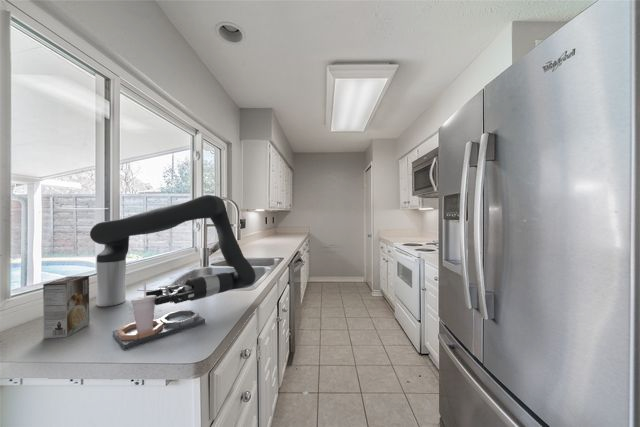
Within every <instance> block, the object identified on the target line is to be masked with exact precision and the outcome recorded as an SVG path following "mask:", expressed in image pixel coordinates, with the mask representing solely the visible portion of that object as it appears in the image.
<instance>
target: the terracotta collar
mask: <svg viewBox="0 0 640 427" xmlns="http://www.w3.org/2000/svg"><path fill="white" fill-rule="evenodd" d="M158 319H159V318H157V319H153V325H156V327H155V328H154V329H151V330H148V331H145V332H141V333H133V334H125V333H124V332H126V331H127V330H129V329H131V328H134V327H136V322H135V321H134V322H131V323H128V324H126V325H123V327H120V328H119V329H117V330H118V331H117V335H118V337H119V338H120V339H121V340H131V339H140V338H143V337H147V336H150V335H153V334H155V333H157V332H158V331H159V330H161V329H162V328H163V323H162V322H161V321H160V320H158Z"/></svg>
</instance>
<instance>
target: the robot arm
mask: <svg viewBox="0 0 640 427" xmlns="http://www.w3.org/2000/svg"><path fill="white" fill-rule="evenodd" d="M201 219H210V221H211V222H212V223H213V225H214V228H215V230H216V233H217V238H218V246H219V248H220V249H219V250H220V253H221V254H222V256H223V258H224V261H225V263H226V265H227V266H228V267H231V268H233V269H234V270H235V271H232V272H231V271H230V272H221V273H215V274H206V275H200V276H196V277H191V278H190V277H189V278H188V279H187V280H186V281H185V284H184V285H182V284H179V283H173V284H167V285H162V286H158V289H153V290H149V291H146V296H151V295H156V298H155V299H154V304H155V306H160V305H164V304H168V303H170V304H172V303H174V304H175V305H176V304H179V303H183V302H188V301H191V302H193V301H197V300H201V299H205V298H208V297H213V296H214V295H218V294H222V293H225V292H228V291H233V290H238V289H241V288H245V287H248V286H251V285H252V284H254V283H255V281H256V276H257V275H256V271H255V269H254V268H253V266H252V265H251V264H250V262H249V261H248V259H247V258H246V257H245V256H244V254H243V251H242V249H241V247H240V245H239V243H238V241H237V239H236V236H235V233H234V231H233V228H232V226H231V222H230V218H229V216H228V210H227V207H226V204H225V202H224V200H223V199H222V198H221V197H219V196H217V195H212V194H204V195H201V196H198V197H196V198H193V199H190V200H188V201H187V200H186V201H185V202H181V203H176V204H170V205H166V206H162V207H156V208H153V209H149V210H147V211H146V210H145V211H142V212H139V213H136V214H134V215H130V216H127V217H124V218H119V219H115V220H113V219H112V220H106V221H100V222H98V223H96V224H95V225H94V226H93V227H91V229H90V232H89V237H90V239H91V240H92V242H94V243H96V244H98V245H105V248H104V249H103V250H102V251H101V252H99V253H98V254H97V255H96V307H100V308H101V307H103V308H104V307H111V306H117V305H120V304H123V303H125V302H126V300H127V299H126V295H127V294H126V293H127V292H126V291H127V286H126V285H127V284H126V283H127V261H126V260H127V258H126V257H127V255H128V252H129V247H130V246H129V245H130V237H132V236H133V237H134V236H140V235H148V234H155V233H159V232H160V233H161V232H163V231H167V230H172V229H173V228H175V227H178V226H179V225H181V224H183V223H186V222H189V221H194V220H201Z"/></svg>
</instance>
